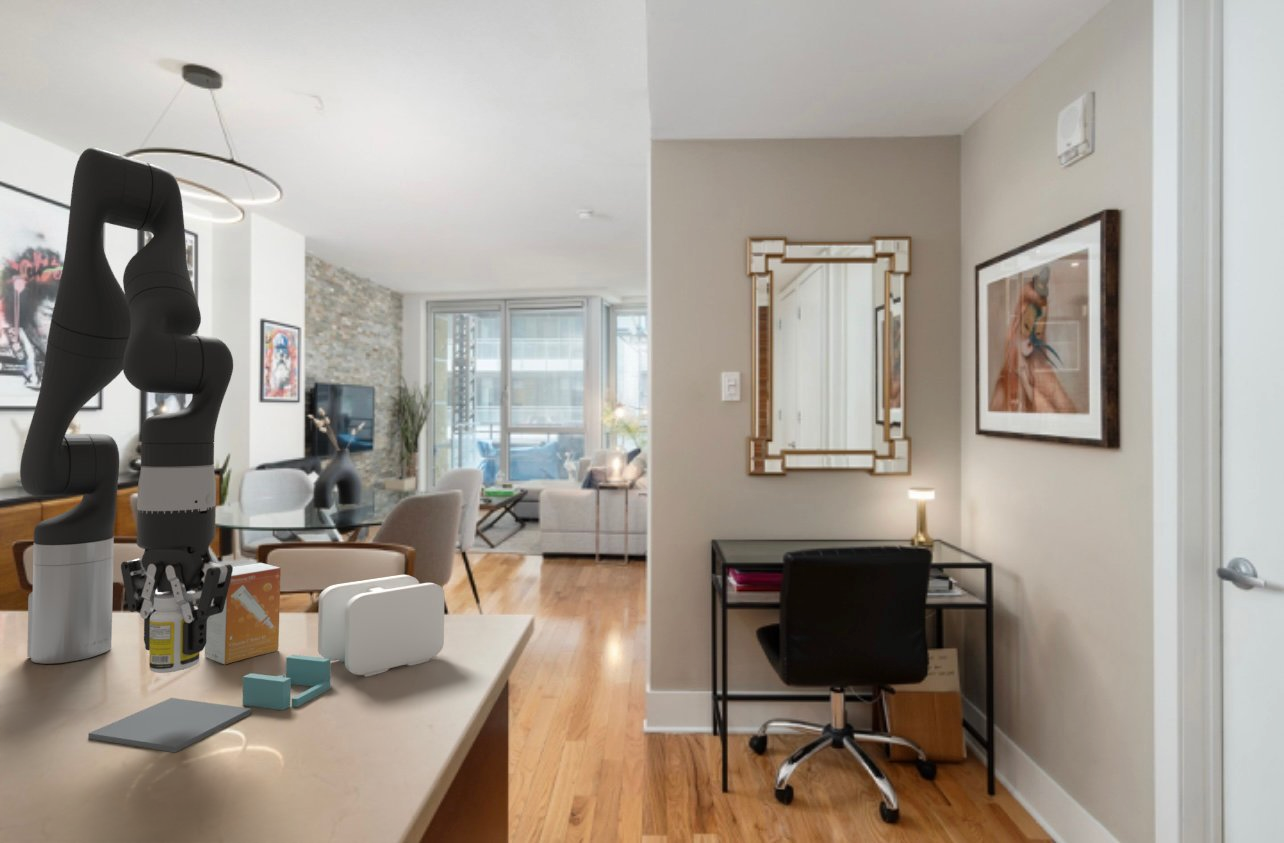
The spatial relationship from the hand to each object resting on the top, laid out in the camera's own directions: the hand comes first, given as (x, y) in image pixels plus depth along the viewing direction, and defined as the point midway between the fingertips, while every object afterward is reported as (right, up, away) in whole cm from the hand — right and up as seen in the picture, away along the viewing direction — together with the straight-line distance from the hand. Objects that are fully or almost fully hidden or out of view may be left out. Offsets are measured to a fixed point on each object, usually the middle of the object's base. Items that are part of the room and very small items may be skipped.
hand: (175, 649), depth 77 cm
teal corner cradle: (+8, -9, +9) cm, 15 cm away
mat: (0, -9, 0) cm, 9 cm away
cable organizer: (+15, -9, +22) cm, 28 cm away
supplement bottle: (0, -2, 0) cm, 2 cm away
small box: (-7, -9, +24) cm, 27 cm away
